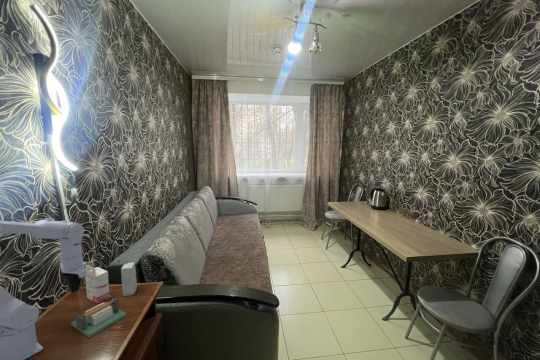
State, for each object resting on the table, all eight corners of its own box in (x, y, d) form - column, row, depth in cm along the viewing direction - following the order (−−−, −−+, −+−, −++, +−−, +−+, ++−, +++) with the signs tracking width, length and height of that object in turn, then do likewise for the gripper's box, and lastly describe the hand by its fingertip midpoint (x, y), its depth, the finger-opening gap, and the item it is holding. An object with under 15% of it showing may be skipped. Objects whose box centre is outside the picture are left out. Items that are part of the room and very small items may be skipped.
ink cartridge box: (110, 297, 98) (108, 264, 96) (97, 304, 94) (94, 269, 92) (99, 291, 102) (97, 259, 100) (86, 298, 98) (83, 264, 96)
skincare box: (134, 294, 100) (132, 267, 99) (122, 296, 99) (120, 269, 98) (137, 286, 106) (135, 261, 105) (126, 288, 105) (124, 262, 103)
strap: (85, 318, 80) (85, 316, 80) (82, 316, 81) (82, 314, 81) (116, 302, 89) (116, 300, 89) (113, 300, 90) (113, 298, 89)
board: (89, 337, 77) (87, 321, 76) (71, 325, 82) (69, 309, 82) (126, 315, 87) (125, 300, 87) (108, 305, 93) (107, 291, 92)
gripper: (95, 255, 84) (97, 290, 85) (75, 247, 90) (78, 280, 92) (71, 263, 78) (74, 301, 79) (51, 254, 84) (55, 289, 86)
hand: (74, 290), depth 85 cm, fingers closed
